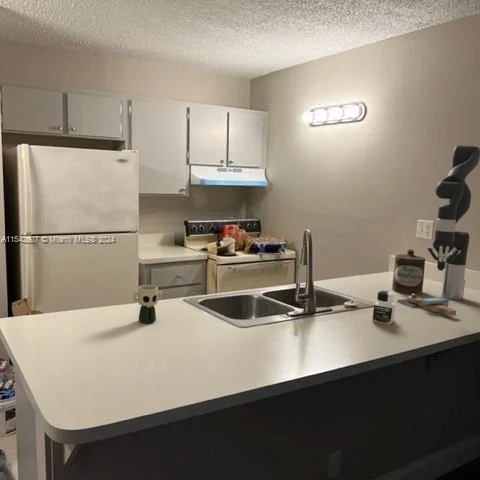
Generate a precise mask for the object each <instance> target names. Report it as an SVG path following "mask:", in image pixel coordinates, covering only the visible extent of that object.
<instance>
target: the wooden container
mask: <svg viewBox="0 0 480 480" xmlns="http://www.w3.org/2000/svg"><path fill="white" fill-rule="evenodd" d="M406 251H407V253H406V254H395V257H394V268H393V275H392V286H391V287H392V288H391V290H392V291H394V292H396V293H400V294H404V295H411V294H412V293H413V294H417V295H420V294H423V286H424V281H425V280H424V277H425V264H426V258H425V257H424V256H422V255H421V256H420V255H415V254H414V253H415V250H413V249H412V248H411V249H410V248H409V249H407V250H406Z"/></svg>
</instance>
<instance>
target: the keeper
mask: <svg viewBox="0 0 480 480" xmlns="http://www.w3.org/2000/svg"><path fill="white" fill-rule="evenodd" d="M449 300H450V299H448V298H444V297H428V298H421V302H423V303H426V304H435V303H436V304H439V305H442V306H445V307H448V308H449Z"/></svg>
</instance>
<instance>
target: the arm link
mask: <svg viewBox="0 0 480 480" xmlns="http://www.w3.org/2000/svg"><path fill="white" fill-rule="evenodd" d="M407 299H408V301H409V302H412V303H415V304H418V305H421V306H423V307H422V308H426V309H429V310H432V311H434V312H438V313H441V314H444V315H446V316H451V317H452V316H456V315H457V310H456V309H453V308H450V307H449V306H448V307H445V306H442V305H439V304H436V303H435V304H426V303H423V302H421V299H422V298H421V297H419V296H417V297H411V295H408V297H407Z"/></svg>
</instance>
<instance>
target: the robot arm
mask: <svg viewBox="0 0 480 480" xmlns="http://www.w3.org/2000/svg"><path fill="white" fill-rule="evenodd" d="M451 158H452V159H451V160H452V161H451V170H449V172H448V174H447V176H445V178H443V179H442V180H440V181H439V182H438V184H437V185H436V187H435V194H436V196H437V198H439V199H441V200H443V199H445V200H448V203H447V204H441V205H439V206H438V211H437V219H436V224H435V230H434V231H435V233H434V242H432V244H431V246H428V247H427V248H426V249H427V251H428V252H429V254H430V255H431V257H432V258H433V259H434V260H435V261H437V264H436V265H437V266H436V267H437V269H438V271H442V272H443V271H444V273H443V282H442V290H441V298H445V299H448V300H456V301H457V300H459V301H460V300H462V299H464V294H465V285H466V279H465V276H466V275H465V274H466V267H467V266H466V265H467V255H468V249H469V246H470V245H469V244H470V238H471V237H470V234H469V232H466V231H456V225H457V223H458V222H459V221H460V220H461V218H463V217H464V216H465V214H467V212H468V211H469V209H470V207H471V202H472V201H471V200H472V192H471V190H470V187H469V186H468V184H467V182H466V178H467V177H468V175H469V174H471V173H472V171H473V170H474V169H475V168H476V167H477V165H479V162H480V147H478V146H472V145H456V146H455V147H454V148H453V152H452V157H451ZM434 251H436V253H437V255H436V254H435V252H434ZM450 252H451V253H450Z"/></svg>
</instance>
